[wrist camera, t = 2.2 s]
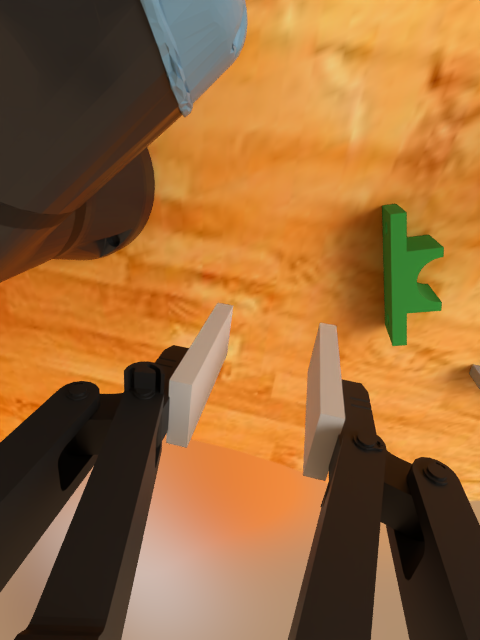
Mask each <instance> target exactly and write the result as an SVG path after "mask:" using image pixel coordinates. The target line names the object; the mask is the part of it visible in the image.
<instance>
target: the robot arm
mask: <svg viewBox="0 0 480 640" xmlns="http://www.w3.org/2000/svg"><path fill="white" fill-rule="evenodd" d="M246 32H247V9H246V4H245V0H0V282H2V281H5V280H7V279H9V278H11V277H13V276H16V275H18V274H20V273H22V272H25V271H27V270H29V269H31V268H34V267H36V266H38V265H40V264H43V263H45V262H47V261H49V260H51V259H67V260H92V259H98V258H102V257H105V256H108V255H110V254H112V253H114V252H116V251H118V250H120V249H122V248H123V247H125V246H127V245H128V244H129V243H131V242H132V241H133V240H134V239H135V238H136V237H137V236H138V235H139V234H140V232H141V231H142V229H143V228H144V226H145V224H146V223H147V220H148V218H149V216H150V213H151V210H152V206H153V201H154V190H155V182H154V172H153V166H152V162H151V158H150V155H149V152H148V149H147V146H148V145H150V144H151V143H152V142H153V141H154V140H155V139H156V138H157V137H158V136H160V135H161V134H162V133H163V132H164V131H165V130H166V129H167V128H168V127H170V126H171V125H172V124H173V123H174V122H175V121H176V120H177V119H178V118H180V117H181V116H182V115H183V116H184V117H186V116H187V115H189V114H190V113H191V111H192V108H193V103H194V102H195V101H196V100H197V99H198V98H199V97H200V96H201V95H202V94H203V93H204V92H205V91H206V90H207V89H208V88H209V87H210V86H211V85H212V84H213V83H214V82H215V81H216V80H217V79H218V78H219V77H220V76H221V75H222V74H223V73H224V72H225V71H226V70H227V69H228V68H229V67H230V66H231V65H232V64H233V63H234V61H235V60H236V59H237V57H238V56H239V54H240V52H241V50H242V48H243V45H244V42H245V38H246ZM232 311H233V306H232V305H227V304H222V303H217V305H216V306H215V308H214V310H213V311H212V313H211V314H210V316H209V318H208V319H207V321H206V322H205V324H204V326H203V327H202V329H201V330H200V332H199V334H198V335H197V337H196V338H195V340H194V342H193V343H192V345H191V346H190V348H185V347H180V346H175V345H173V346H171V347H169V348H167V349H165V350H164V351H163V352H162V354H161V355H160V356H159V359H157V361H156V362H155V363H153V362H137V363H133V364H131V365H130V366H128V367H127V368H126V369H125V370H124V393H119V394H100V393H99V388H98V387H97V386H96V384H93V383H91V382H85V381H79V382H73V383H70V384H67V385H65V386H63V387H62V388H60V389H59V390H58V391H57V392H56V393H55V394H54V395H52V396H51V397H50V398H49V399H48V400H47V401H46V402H45V403H44V404H42V405H41V406H40V407H39V408H38V409H37V410H36V411H35V412H34V413H33V414H31V415H30V416H29V417H28V418H27V419H26V420H25V421H24V422H23V423H21V424H20V425H19V426H18V427H17V428H16V429H15V430H14V431H13V432H12V433H10V434H9V435H8V436H7V437H6V438H5V439H4V440H3V441H2V442H0V592H1V591H2V589H3V588H4V587H5V585H6V584H7V582H8V581H9V580H10V578H11V577H12V576H13V574H14V573H15V572H16V570H17V569H18V568H19V566H20V565H21V564H22V562H23V561H24V559H25V558H26V557H27V555H28V554H29V553H30V551H31V550H32V549H33V547H34V546H35V544H36V543H37V542H38V540H39V539H40V538H41V536H42V535H43V534H44V532H45V531H46V529H47V528H48V527H49V526H50V524H51V523H52V521H53V520H54V519H55V517H56V516H57V515H58V513H59V512H60V511H61V509H62V508H63V507H64V505H65V504H66V502H67V501H68V500H69V498H70V497H71V496H72V494H73V493H74V492H75V490H76V489H77V488H78V486H79V485H80V483H81V482H82V481H83V479H84V478H85V477H86V475H87V474H88V473H89V471H90V470H91V469H92V467H93V466H94V467H93V470H92V472H91V475H90V477H89V479H88V482H87V485H86V487H85V489H84V492H83V494H82V497H81V499H80V502H79V504H78V507H77V509H76V511H75V514H74V516H73V519H72V521H71V524H70V526H69V529H68V531H67V534H66V536H65V539H64V541H63V543H62V546H61V549H60V551H59V553H58V556H57V558H56V561H55V563H54V566H53V568H52V571H51V573H50V576H49V578H48V581H47V583H46V586H45V588H44V590H43V593H42V595H41V598H40V600H39V603H38V605H37V608H36V610H35V612H34V615H33V617H32V619H31V622H30V624H29V625H28V627H27V628H26V629H25V630H24V631H22V632H21V633H19V634H18V635H17V636H16V637H15V639H14V640H121V637H122V633H123V628H124V623H125V619H126V614H127V609H128V605H129V600H130V595H131V591H132V586H133V581H134V577H135V572H136V567H137V563H138V558H139V554H140V549H141V544H142V540H143V535H144V530H145V526H146V521H147V516H148V511H149V507H150V502H151V498H152V493H153V489H154V484H155V479H156V474H157V470H158V465H159V460H160V456H161V450H162V440H163V438H164V437H165V435H166V433H167V439H166V442H167V443H170V444H174V445H178V446H182V447H187V446H188V444H189V441H190V439H191V437H192V434H193V432H194V430H195V427H196V425H197V423H198V421H199V418H200V416H201V414H202V411H203V409H204V407H205V404H206V402H207V400H208V397H209V395H210V393H211V390H212V388H213V386H214V383H215V381H216V379H217V376H218V374H219V372H220V369H221V367H222V365H223V362H224V360H225V358H226V355H227V350H228V342H229V334H230V327H231V319H232ZM328 471H329V483H328V486H327V489H326V492H325V495H324V498H323V501H322V504H321V507H322V508H321V512H320V515H319V519H318V524H317V527H316V531H315V535H314V539H313V543H312V547H311V551H310V555H309V559H308V563H307V567H306V571H305V574H304V579H303V582H302V586H301V590H300V594H299V598H298V602H297V606H296V610H295V614H294V618H293V622H292V626H291V630H290V633H289V637H288V640H371V629H372V617H373V605H374V593H375V581H376V568H377V558H378V546H379V533H380V522H382V523H384V524H386V528H387V533H388V538H389V543H390V548H391V552H392V557H393V562H394V566H395V572H396V576H397V581H398V586H399V591H400V596H401V601H402V605H403V610H404V615H405V620H406V625H407V629H408V634H409V639H410V640H480V525H479V523H478V521H477V518H476V516H475V514H474V512H473V509H472V507H471V505H470V503H469V500H468V498H467V496H466V494H465V492H464V489H463V487H462V485H461V483H460V481H459V479H458V477H457V476H456V474H455V473H454V472H453V471H452V470H451V469H450V468H449V467H448V466H446V465H445V464H443V463H441V462H440V461H438V460H435V459H432V458H426V457H421V458H418V459H415V461H414V462H413V464H411V463H408V462H406V461H404V460H402V459H400V458H398V457H396V456H394V455H392V454H391V453H390V452H388V451H387V450H386V445H385V443H384V442H383V440H382V439H381V438H380V437H379V436H378V435H376V430H375V425H374V420H373V415H372V410H371V404H370V399H369V394H368V392H367V390H366V389H365V388H364V386H363V385H362V384H361V383H356V382H352V381H347V380H342V379H341V369H340V359H339V348H338V338H337V327H336V326H335V325H330V324H325V323H320V324H319V328H318V332H317V336H316V340H315V344H314V349H313V353H312V357H311V361H310V365H309V369H308V380H307V401H306V423H305V444H304V465H303V476H307V477H311V478H315V479H319V480H323V481H325V480H326V477H327V474H328Z"/></svg>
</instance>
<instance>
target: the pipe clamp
mask: <svg viewBox="0 0 480 640" xmlns="http://www.w3.org/2000/svg"><path fill="white" fill-rule="evenodd" d="M382 226H383V266H384V305H385V326H386V328H387V331H388V334H389V337H390V340H391V342H392V345H393V346H400V345H407V313H417V312H430V311H441V306H442V302H441V301H440V299H439V298H438V297H437V295H436V294H435V293H434V291H433V290H432V289H431V287H430V286H429V285H428V284H421V283H417V277H418V274H419V272H420V271H421V269H422V268H423V267H424V266H425V265H426V264H427V263H429V262H430V261H432V260H434V259H436V258H440V257H443V254H444V247H443V246H442V245H440V244H439V243H438V242H437V241H436V240H435V239H433V238H432V237H431V236H430V235H422V236H414V237H407V212H406V211H404V210H403V209H402V208H401V207H399V206H398V205H397V204H391V205H384V206H382Z"/></svg>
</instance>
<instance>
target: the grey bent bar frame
mask: <svg viewBox="0 0 480 640" xmlns="http://www.w3.org/2000/svg"><path fill="white" fill-rule="evenodd" d="M469 374H470V375H471V377H472V379H473V380H474V382H475V383H476V385H477V386H478V388H479V389H480V366H478V365H473V366H472V368H471V370H470V372H469Z"/></svg>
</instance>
